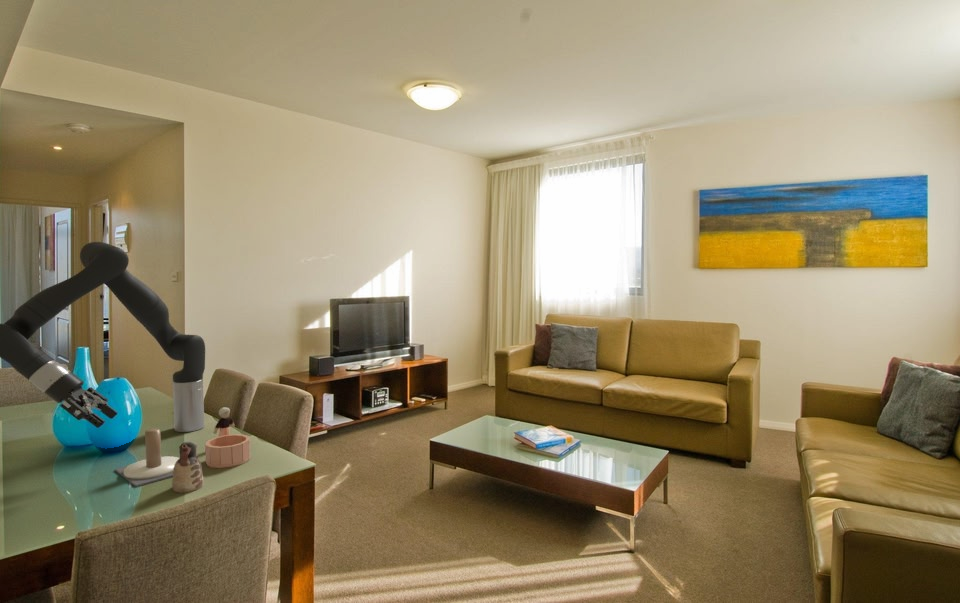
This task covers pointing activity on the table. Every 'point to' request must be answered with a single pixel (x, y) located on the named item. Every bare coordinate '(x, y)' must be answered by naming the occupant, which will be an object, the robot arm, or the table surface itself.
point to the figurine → (187, 470)
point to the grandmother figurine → (224, 422)
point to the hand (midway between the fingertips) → (108, 420)
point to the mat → (142, 481)
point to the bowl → (227, 451)
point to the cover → (151, 459)
